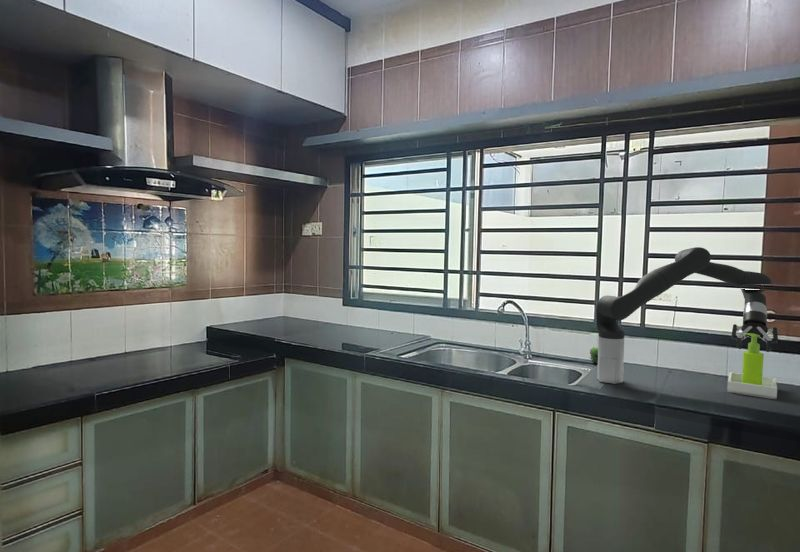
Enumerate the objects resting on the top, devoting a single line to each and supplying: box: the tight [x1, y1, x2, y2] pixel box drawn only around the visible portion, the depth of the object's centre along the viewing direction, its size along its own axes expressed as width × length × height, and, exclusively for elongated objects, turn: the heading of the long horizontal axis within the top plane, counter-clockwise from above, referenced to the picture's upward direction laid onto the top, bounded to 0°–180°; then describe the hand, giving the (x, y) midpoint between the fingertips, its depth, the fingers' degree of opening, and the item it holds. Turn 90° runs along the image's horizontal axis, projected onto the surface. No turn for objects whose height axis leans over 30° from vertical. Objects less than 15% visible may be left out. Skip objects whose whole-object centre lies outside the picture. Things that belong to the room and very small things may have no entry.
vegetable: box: [589, 346, 598, 365], centre depth 218 cm, size 7×7×20 cm
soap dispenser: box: [741, 333, 764, 385], centre depth 172 cm, size 6×7×20 cm
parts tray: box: [726, 371, 778, 400], centre depth 172 cm, size 16×14×4 cm
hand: (753, 349), depth 179 cm, fingers open, 8 cm apart
